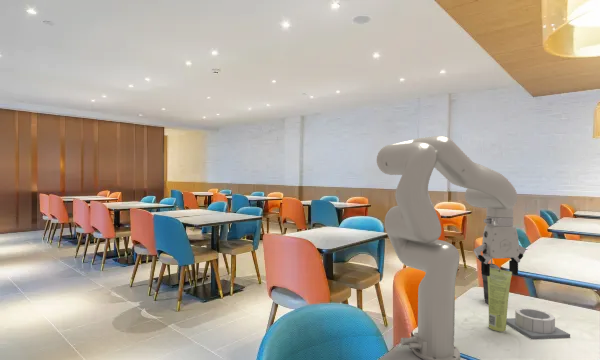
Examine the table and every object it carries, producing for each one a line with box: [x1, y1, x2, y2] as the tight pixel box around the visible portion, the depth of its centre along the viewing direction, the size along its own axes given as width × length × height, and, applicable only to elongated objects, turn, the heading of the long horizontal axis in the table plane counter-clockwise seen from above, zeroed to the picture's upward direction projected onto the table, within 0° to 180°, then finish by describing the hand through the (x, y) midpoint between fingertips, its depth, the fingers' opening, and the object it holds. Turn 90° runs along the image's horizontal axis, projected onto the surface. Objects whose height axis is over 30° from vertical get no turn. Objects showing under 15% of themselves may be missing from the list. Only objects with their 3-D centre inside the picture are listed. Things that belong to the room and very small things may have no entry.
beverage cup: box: [480, 258, 502, 306], centre depth 136 cm, size 7×7×20 cm
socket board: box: [506, 307, 571, 340], centre depth 113 cm, size 13×13×5 cm
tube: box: [487, 268, 513, 333], centre depth 113 cm, size 6×5×20 cm
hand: (499, 274), depth 113 cm, fingers open, 9 cm apart
